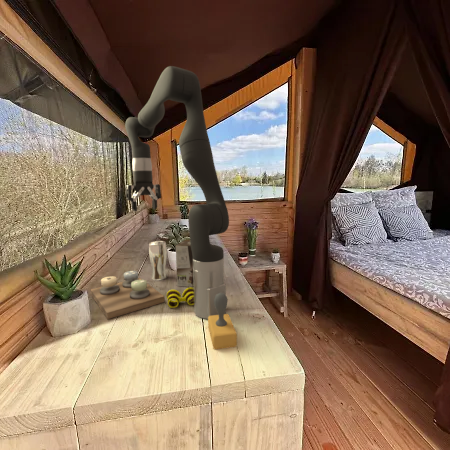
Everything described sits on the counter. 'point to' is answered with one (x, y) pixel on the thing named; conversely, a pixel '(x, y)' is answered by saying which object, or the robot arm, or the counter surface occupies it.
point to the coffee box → (184, 264)
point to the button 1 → (108, 281)
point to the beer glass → (158, 259)
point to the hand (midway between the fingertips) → (145, 210)
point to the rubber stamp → (221, 325)
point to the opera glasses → (175, 295)
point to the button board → (124, 298)
